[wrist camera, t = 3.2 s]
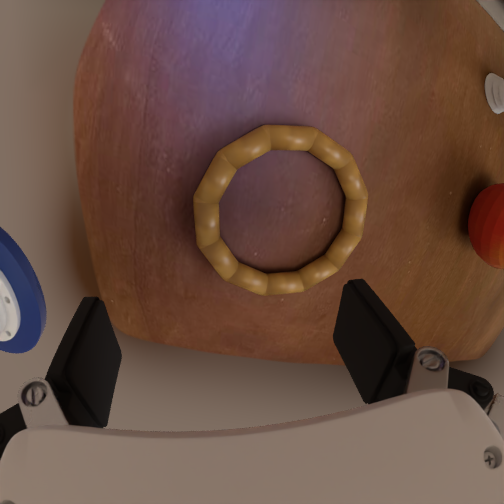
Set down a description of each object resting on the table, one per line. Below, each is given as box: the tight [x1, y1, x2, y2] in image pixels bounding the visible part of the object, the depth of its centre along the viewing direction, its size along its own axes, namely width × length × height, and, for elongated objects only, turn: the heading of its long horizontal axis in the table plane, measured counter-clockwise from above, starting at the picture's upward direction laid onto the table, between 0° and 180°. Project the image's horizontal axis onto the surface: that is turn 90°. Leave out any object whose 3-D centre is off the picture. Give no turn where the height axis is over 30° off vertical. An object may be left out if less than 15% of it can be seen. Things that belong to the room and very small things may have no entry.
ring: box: [193, 125, 368, 296], centre depth 22 cm, size 14×14×2 cm
